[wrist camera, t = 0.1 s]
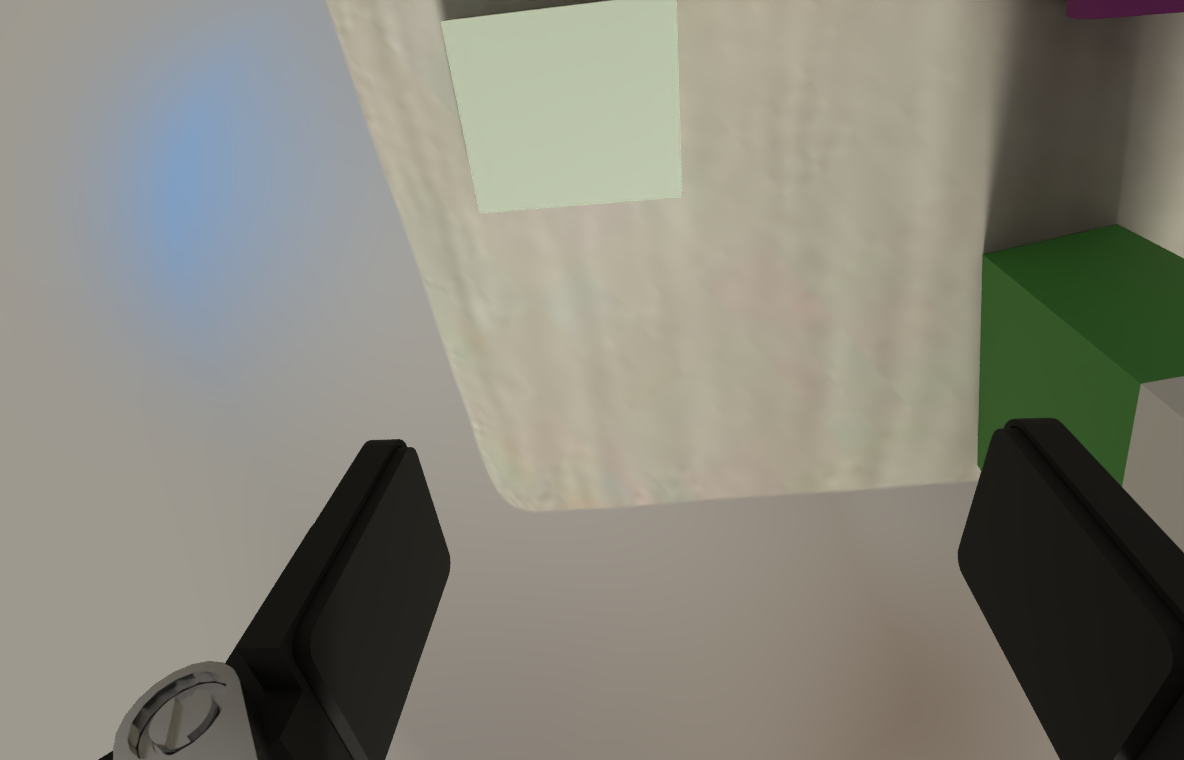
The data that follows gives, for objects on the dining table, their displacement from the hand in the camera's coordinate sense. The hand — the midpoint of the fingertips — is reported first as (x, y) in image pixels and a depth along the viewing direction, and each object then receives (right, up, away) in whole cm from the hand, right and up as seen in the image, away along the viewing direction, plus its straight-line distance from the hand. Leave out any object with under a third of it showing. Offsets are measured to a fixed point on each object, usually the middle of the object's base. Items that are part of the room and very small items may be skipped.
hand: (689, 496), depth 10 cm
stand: (-3, +18, +26) cm, 32 cm away
